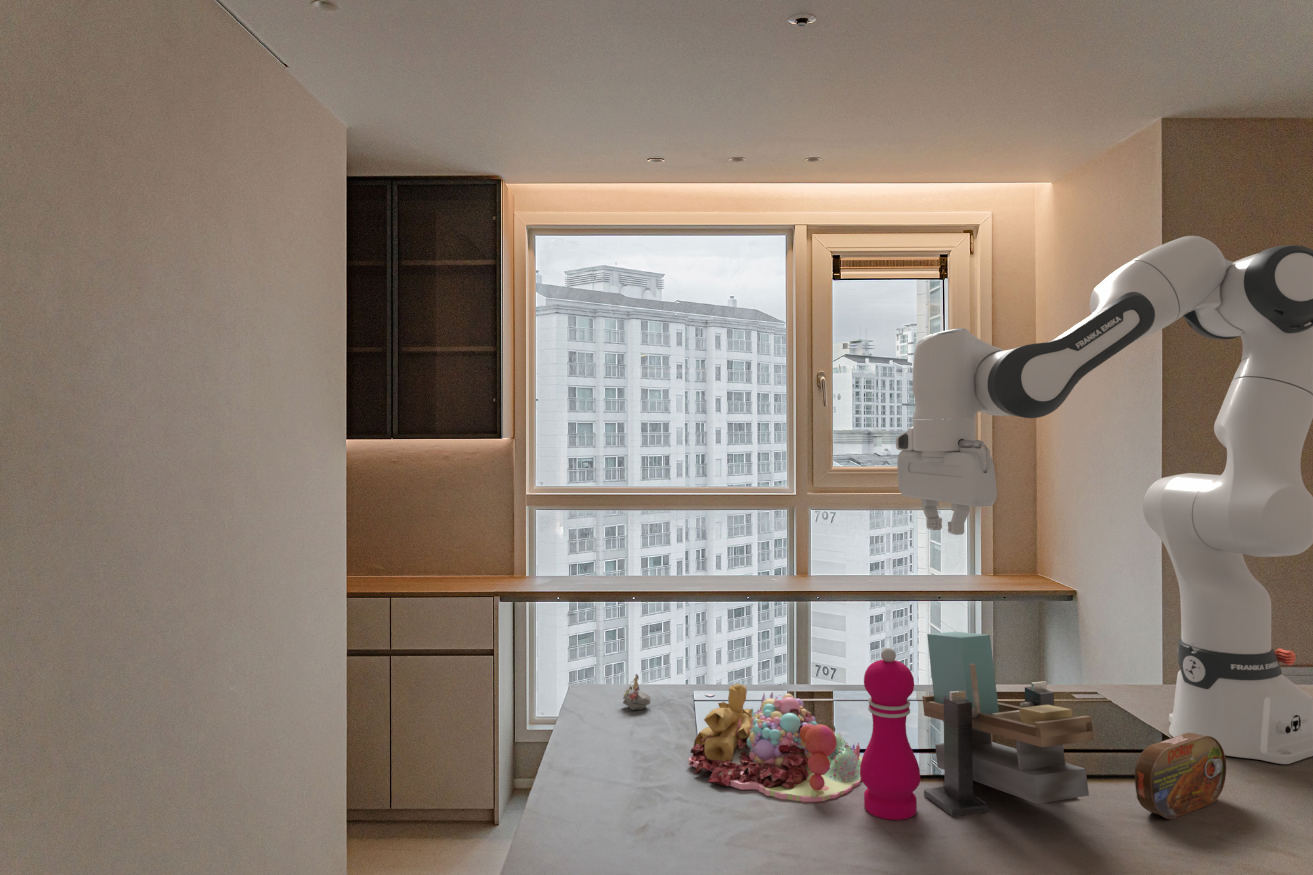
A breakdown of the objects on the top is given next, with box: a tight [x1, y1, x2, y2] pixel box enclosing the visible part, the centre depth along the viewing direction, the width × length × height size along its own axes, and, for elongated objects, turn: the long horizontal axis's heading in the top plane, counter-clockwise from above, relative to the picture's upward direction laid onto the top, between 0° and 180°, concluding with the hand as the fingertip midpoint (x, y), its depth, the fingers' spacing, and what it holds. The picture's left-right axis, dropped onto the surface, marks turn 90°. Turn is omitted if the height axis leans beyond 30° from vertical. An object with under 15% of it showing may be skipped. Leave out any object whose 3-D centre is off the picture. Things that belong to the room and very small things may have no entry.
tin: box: [1134, 733, 1227, 820], centre depth 106 cm, size 15×3×8 cm, turn 117°
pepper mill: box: [860, 647, 921, 821], centre depth 107 cm, size 7×7×20 cm
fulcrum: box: [923, 680, 1055, 817], centre depth 110 cm, size 18×6×14 cm, turn 105°
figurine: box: [622, 673, 652, 711], centre depth 146 cm, size 5×4×6 cm
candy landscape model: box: [688, 683, 863, 803], centre depth 122 cm, size 25×24×9 cm
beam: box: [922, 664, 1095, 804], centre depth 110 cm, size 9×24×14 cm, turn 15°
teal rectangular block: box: [926, 631, 999, 714], centre depth 117 cm, size 4×8×10 cm, turn 15°
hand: (945, 531), depth 129 cm, fingers open, 4 cm apart
